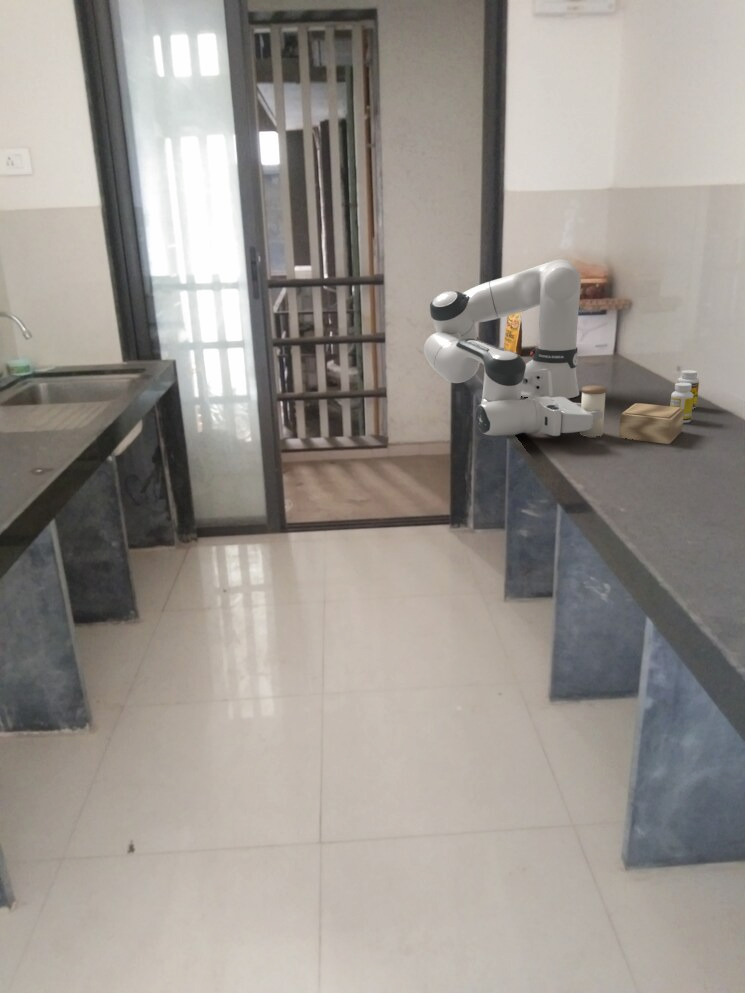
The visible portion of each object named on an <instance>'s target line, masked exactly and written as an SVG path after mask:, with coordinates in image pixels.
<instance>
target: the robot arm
mask: <svg viewBox="0 0 745 993" xmlns="http://www.w3.org/2000/svg"><path fill="white" fill-rule="evenodd" d="M581 285H582V278H581V275H580V273H579V271H578V269H577V267H576V266H575V265H574V264H573V263H572V262H571V261H569V260H567V259H561V258H560V259H555V260H551V261H548V262H546V263H543V264H539V265H537V266H534V267H531V268H528V269H524V270H522V271H519V272H516V273H513V274H511V275H506V276H504V277H500V278H496V279H493V280H490V281H486V282H484V283H481V284H479V285H476V286H474V287H471V288H469V289H468V290H465V291H464V292H460V291H457V290H446V291H443V292H440V293H439V294H437V295H435V296H434V298H432V300H431V302H430V306H429V312H430V317H431V318H432V322H433V326H434V329H435V332H434V333H433V334H431V335H430V336H428V337H427V339H426V341H425V342H424V345H423V354H424V356H425V358H426V360H427V361H428V363H429V364H430V366H431V368H432V369H433V370H434V371H435V372H437V373H438V375H440V376H441V377H442V378H443V379H444V380H446V381H447V382H450V383H453V384H461V383H464V382H467V381H468V380H470V379H472V378H473V376H474V375H476V373H477V372H478V370H479V368H480V364H482V365H483V369H484V370H483V371H484V373H483V386H482V387H483V388H482V393H481V395H482V396H481V402H480V404H478V405H477V406H476V409H475V414H474V415H475V416H474V418H475V423H476V426H477V429H478V431H479V432H480V433H482V435H483V434H484V435H488V436H499V437H500V436H516V435H518V434H524V433H525V434H545V435H548V436H553V437H559V436H561V433H562V434H570V433H578V432H579V433H580V431H586V430H589V429H591V428H592V427H593V420H595V419H601V418H602V417H603V412H602V411H600V410H594V411H593V412H587V411H586V410H584V409H583V408H581V403H580V402H573V401H571V400H570V399H571V398H572V399H573V398H575V397H578V396H580V390H579V386H578V379H577V366H578V359H579V356H578V355H579V354H578V350H579V349H578V347H577V338H578V324H579V323H578V320H579V312H580V298H581ZM535 307H539V316H538V317H539V318H538V320H539V322H538V342H537V343H538V346H536V347H535V348H533V349H532V350H531V351H530V354H529V355H530V356H532V358H531V360H529V361H528V362H527V363H526V362H525V360H524V359H523V357H522V356H521V355H520V356H519V355H518V354H517V353H515V352H512V351H507V350H504V349H502V348H499V347H497V346H494V345H493V344H490V343H487V342H485V341H483V340H480V338H479V337H478V334H477V329H476V325H475V324H477V323H482V322H483V323H484V322H490V321H493V320H498V319H501V318H504V317H507V316H509V315H512V314H516V313H519V312H522V313H523V312H526V311H527V310H530V309H532V308H535ZM521 396H523V397H521ZM524 397H528V398H524ZM521 398H524V399H521Z"/></svg>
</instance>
